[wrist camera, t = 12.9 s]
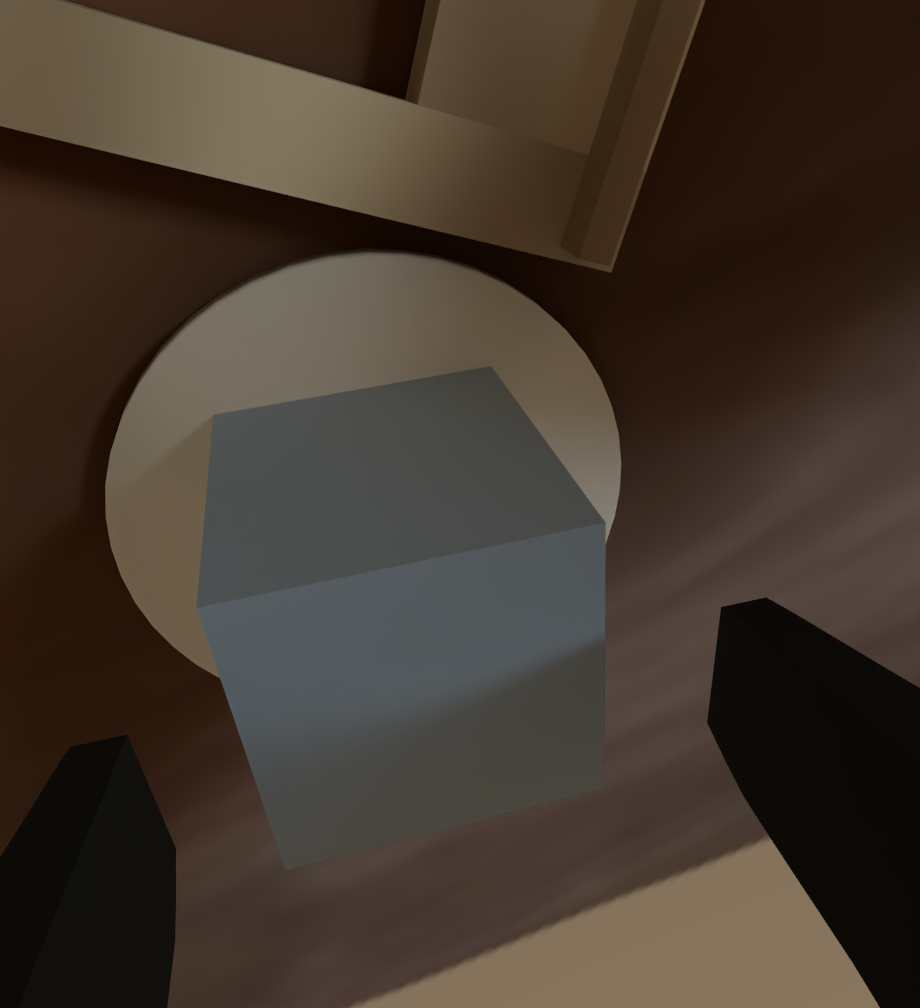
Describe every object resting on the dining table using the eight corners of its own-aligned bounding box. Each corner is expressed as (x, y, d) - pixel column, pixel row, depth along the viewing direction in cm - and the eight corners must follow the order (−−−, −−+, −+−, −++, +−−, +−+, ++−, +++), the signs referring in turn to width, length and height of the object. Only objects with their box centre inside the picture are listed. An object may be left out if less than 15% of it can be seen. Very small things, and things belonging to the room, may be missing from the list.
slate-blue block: (491, 365, 13) (606, 522, 9) (507, 583, 15) (604, 788, 11) (213, 414, 12) (197, 608, 8) (275, 633, 15) (285, 870, 11)
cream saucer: (679, 310, 14) (695, 320, 14) (528, 695, 18) (536, 714, 18) (132, 184, 11) (126, 191, 11) (95, 676, 15) (90, 698, 15)
